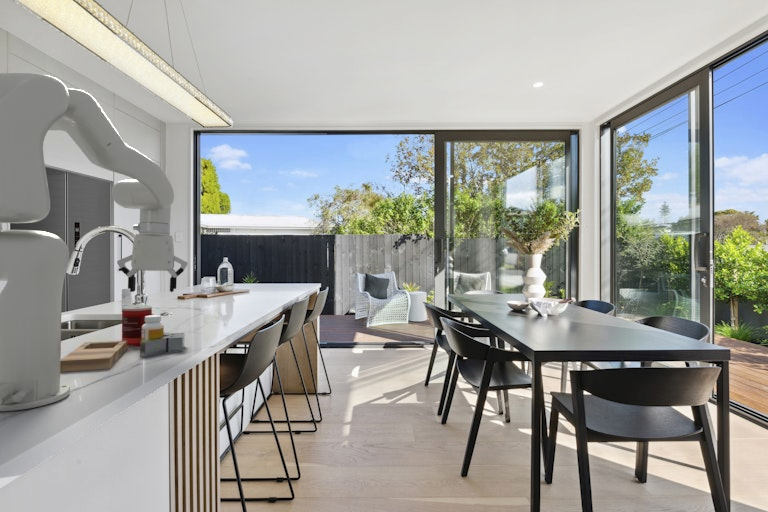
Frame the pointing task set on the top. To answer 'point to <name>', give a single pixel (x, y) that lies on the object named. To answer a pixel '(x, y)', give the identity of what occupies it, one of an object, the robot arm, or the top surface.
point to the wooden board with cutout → (93, 356)
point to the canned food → (134, 323)
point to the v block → (162, 344)
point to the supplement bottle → (152, 328)
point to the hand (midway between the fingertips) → (152, 291)
